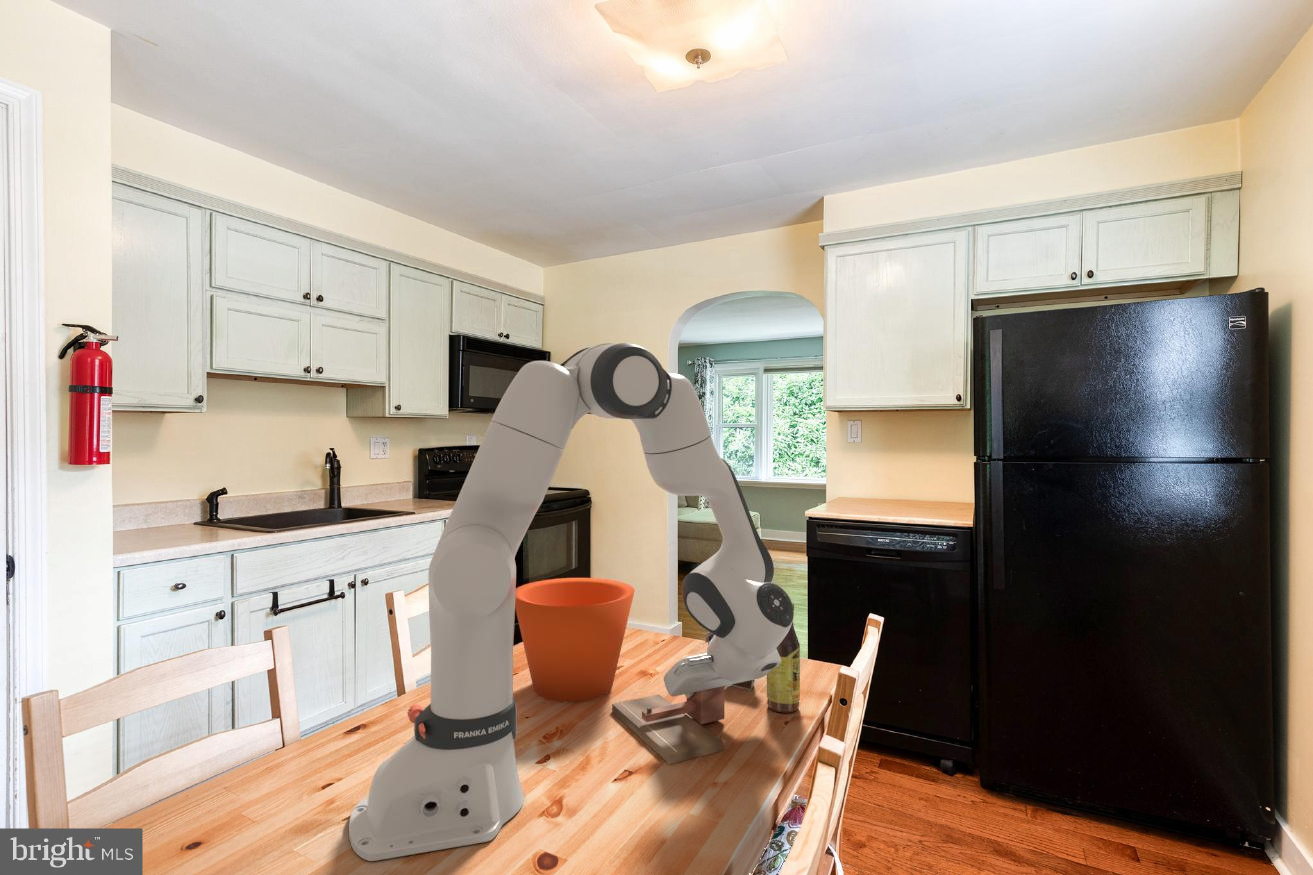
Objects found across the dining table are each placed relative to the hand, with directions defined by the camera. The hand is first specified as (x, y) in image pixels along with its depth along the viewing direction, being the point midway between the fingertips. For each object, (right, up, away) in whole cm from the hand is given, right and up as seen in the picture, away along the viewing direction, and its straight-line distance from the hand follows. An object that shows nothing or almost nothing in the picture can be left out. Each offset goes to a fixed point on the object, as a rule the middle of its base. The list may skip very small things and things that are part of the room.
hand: (703, 690), depth 118 cm
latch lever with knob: (-4, -4, -3) cm, 7 cm away
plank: (-7, -5, -5) cm, 10 cm away
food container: (+9, -5, +19) cm, 21 cm away
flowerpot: (-26, -5, +15) cm, 30 cm away
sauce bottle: (+16, -5, +5) cm, 17 cm away
